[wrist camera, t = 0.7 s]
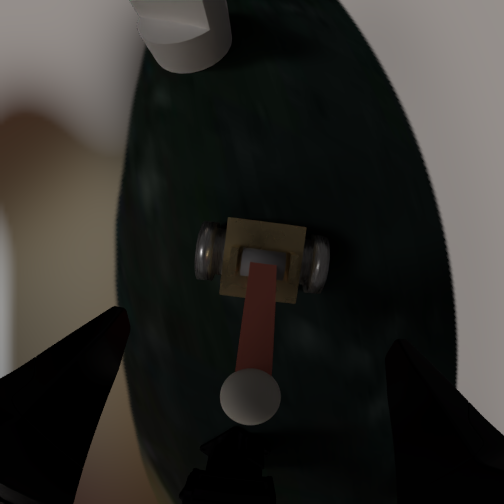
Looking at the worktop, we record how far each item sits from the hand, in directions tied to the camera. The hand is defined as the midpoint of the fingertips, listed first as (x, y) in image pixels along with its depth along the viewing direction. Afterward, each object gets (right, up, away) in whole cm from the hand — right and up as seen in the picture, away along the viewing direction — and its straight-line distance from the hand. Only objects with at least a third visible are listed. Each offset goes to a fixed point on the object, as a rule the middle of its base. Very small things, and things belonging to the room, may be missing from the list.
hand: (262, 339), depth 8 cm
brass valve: (+1, +3, +18) cm, 18 cm away
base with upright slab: (-7, +26, +16) cm, 32 cm away
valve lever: (0, +2, +12) cm, 12 cm away
